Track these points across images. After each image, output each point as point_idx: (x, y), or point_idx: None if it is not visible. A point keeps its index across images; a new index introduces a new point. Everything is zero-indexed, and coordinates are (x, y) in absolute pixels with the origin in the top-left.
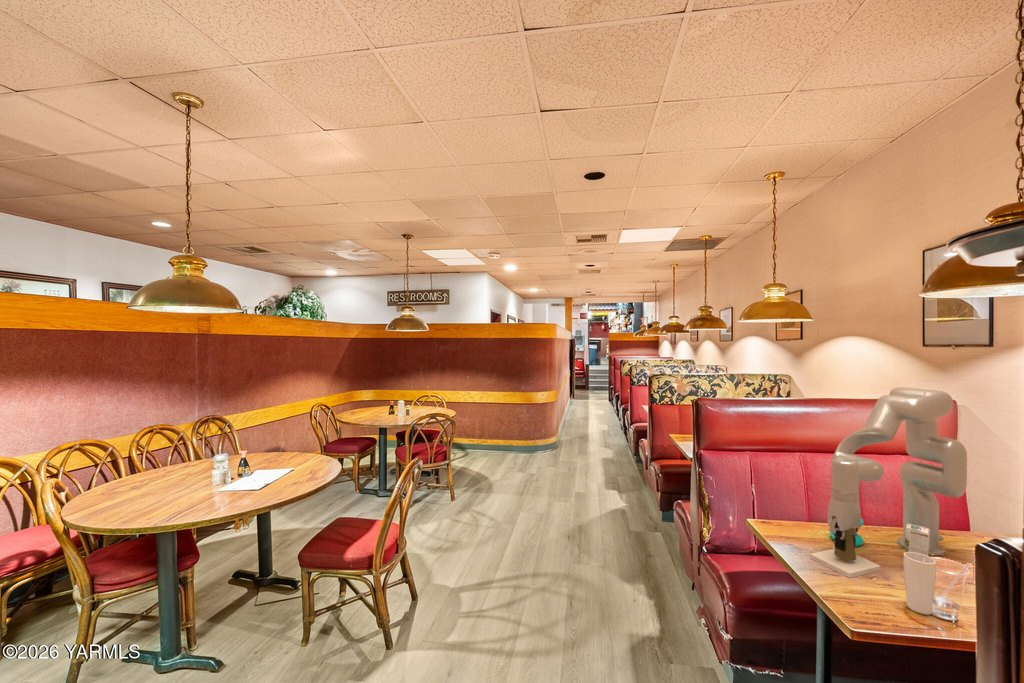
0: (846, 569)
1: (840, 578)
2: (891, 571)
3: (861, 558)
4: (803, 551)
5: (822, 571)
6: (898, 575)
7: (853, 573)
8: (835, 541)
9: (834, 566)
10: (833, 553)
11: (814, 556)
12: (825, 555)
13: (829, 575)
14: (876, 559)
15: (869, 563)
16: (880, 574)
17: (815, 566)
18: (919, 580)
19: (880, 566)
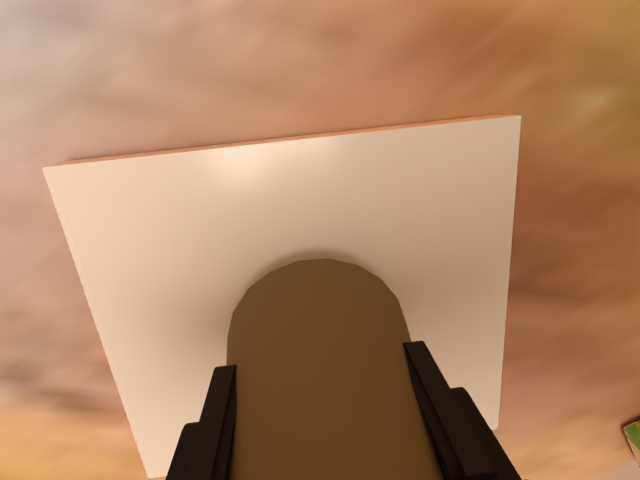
0: (174, 437)
1: (87, 443)
2: (533, 419)
3: (480, 327)
4: (107, 11)
5: (16, 358)
6: (517, 456)
7: None
8: (201, 432)
9: (118, 384)
10: (320, 208)
11: (60, 215)
12: (195, 226)
13: (32, 406)
14: (636, 284)
15: None
16: None
17: (11, 289)
18: None
19: (490, 427)
